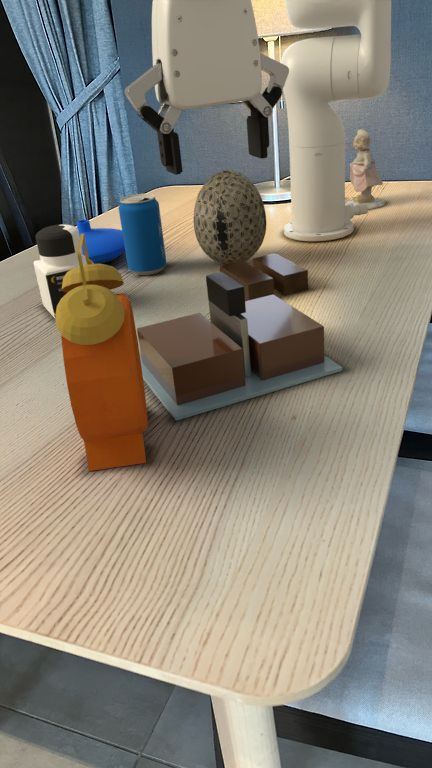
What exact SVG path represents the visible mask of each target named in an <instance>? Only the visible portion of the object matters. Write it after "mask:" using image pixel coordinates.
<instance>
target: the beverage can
mask: <svg viewBox="0 0 432 768" xmlns="http://www.w3.org/2000/svg"><path fill="white" fill-rule="evenodd" d="M118 214H119V220H120V226H121V230H122V233H123V239H124V246H125V252H124V253H125V257H126V263H127V269H128V270H129V271H130V272H132V273H133V274H134V275H137V276H138V275H139V276H149V275H154V274H158V273H161V272H162V271H163V270H164V268H165V267H166V266H167V263H168V261H167V255H166V249H165V241H164V233H163V226H162V225H163V224H162V216H161V209H160V203H159V201H158V200H157V199H156V195H155V194H153V193H136V194H130V195H125V196H124V197H121V198H120V199H119V205H118Z"/></svg>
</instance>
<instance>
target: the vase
mask: <svg viewBox="0 0 432 768" xmlns="http://www.w3.org/2000/svg"><path fill="white" fill-rule="evenodd" d="M76 228H77V229H78V231H79V236H80V235H81V234H84V236H85V241H86V246H87V251H88V256H89V260H92V262H93V263H94V264H105V263H108V262H111V261H113V260H116V258H118V257H119V256H121V255H123V254H124V253H126V252H125V246H124V239H123V233H122V229H119V228H111V227H110V228H108V227H107V228H105V227H101V228H92V226H91V223H90V219H79V220H77V221H76ZM82 252H83V253H82V254H83V255H84V256H85V253H84V247H83V242H82Z"/></svg>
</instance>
